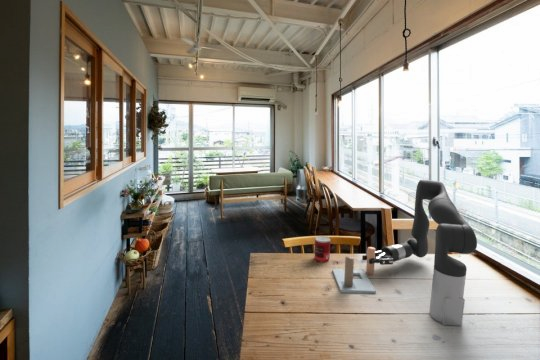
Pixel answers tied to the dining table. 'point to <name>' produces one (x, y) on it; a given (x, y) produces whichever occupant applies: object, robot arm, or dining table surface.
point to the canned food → (322, 249)
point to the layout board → (358, 282)
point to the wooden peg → (369, 255)
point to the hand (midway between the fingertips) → (366, 259)
